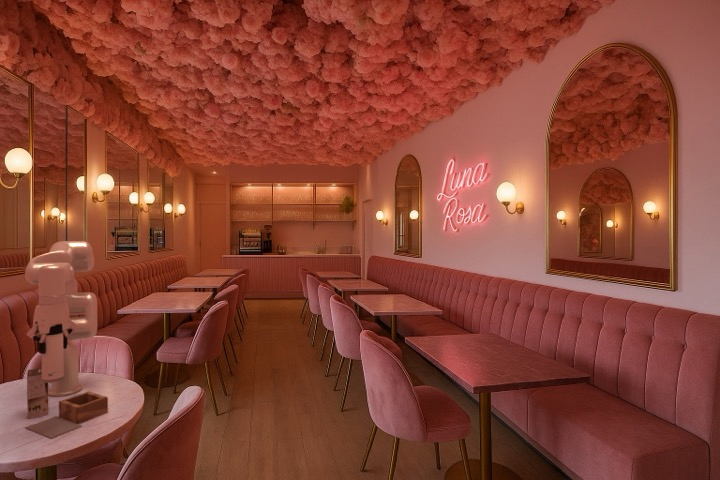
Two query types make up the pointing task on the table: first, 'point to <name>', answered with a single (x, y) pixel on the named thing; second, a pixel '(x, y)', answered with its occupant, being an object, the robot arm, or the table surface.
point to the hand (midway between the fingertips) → (52, 350)
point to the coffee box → (36, 394)
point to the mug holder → (83, 407)
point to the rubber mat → (53, 427)
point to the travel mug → (53, 356)
